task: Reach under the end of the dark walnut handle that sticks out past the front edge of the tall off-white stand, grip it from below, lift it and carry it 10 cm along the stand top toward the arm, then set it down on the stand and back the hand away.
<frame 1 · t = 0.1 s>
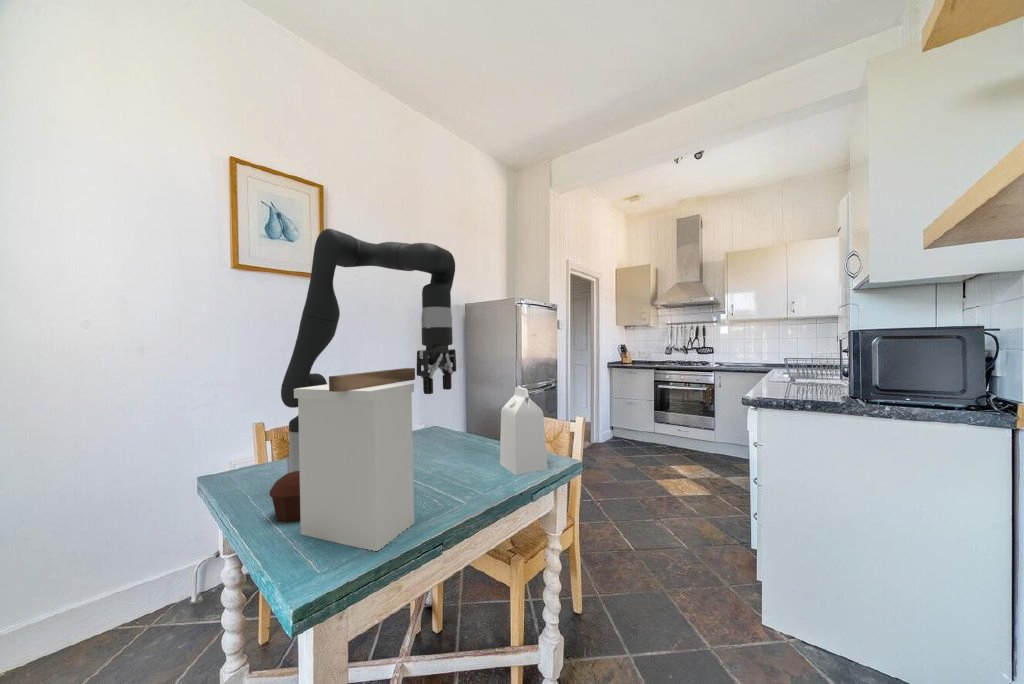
hand: (438, 391, 90), 29 cm above the table, tool pointing down, fingers open, 8 cm apart
milk: (523, 467, 120), on the table
tall stand: (358, 528, 81), on the table
muffin: (297, 514, 89), on the table
walnut handle: (377, 384, 83), point 32 cm above the table, touching tall stand
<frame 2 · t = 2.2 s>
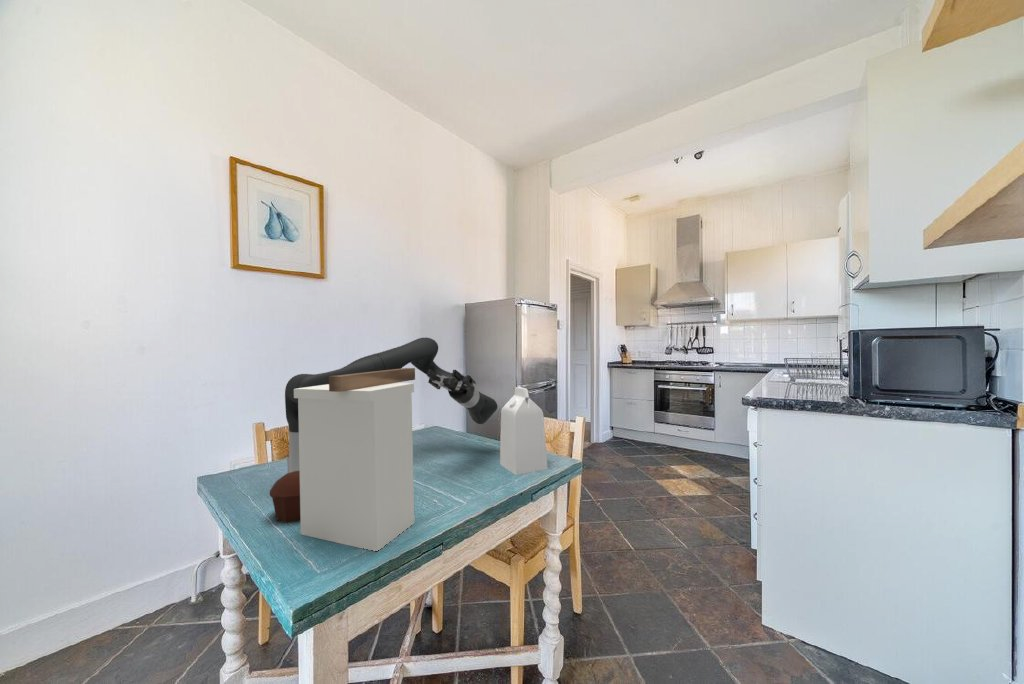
hand: (441, 372, 108), 33 cm above the table, tool pointing upward, fingers open, 8 cm apart
nothing on the table moved.
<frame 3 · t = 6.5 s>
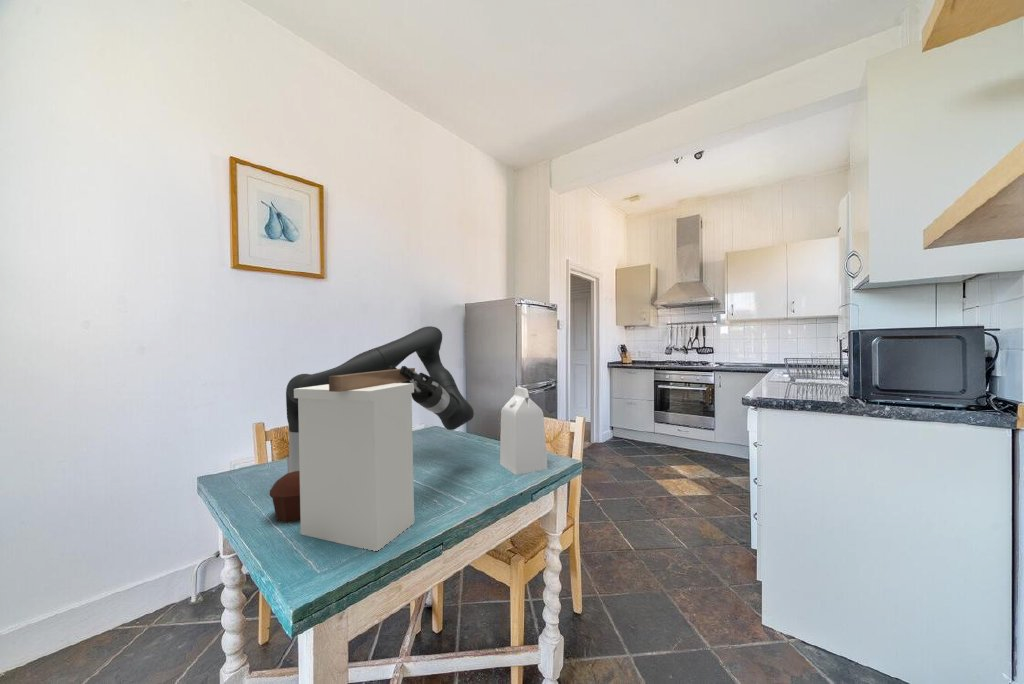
hand: (396, 369, 89), 35 cm above the table, tool pointing upward, fingers closed on walnut handle, 3 cm apart
walnut handle: (377, 384, 83), point 32 cm above the table, touching gripper, tall stand
everything else where it was.
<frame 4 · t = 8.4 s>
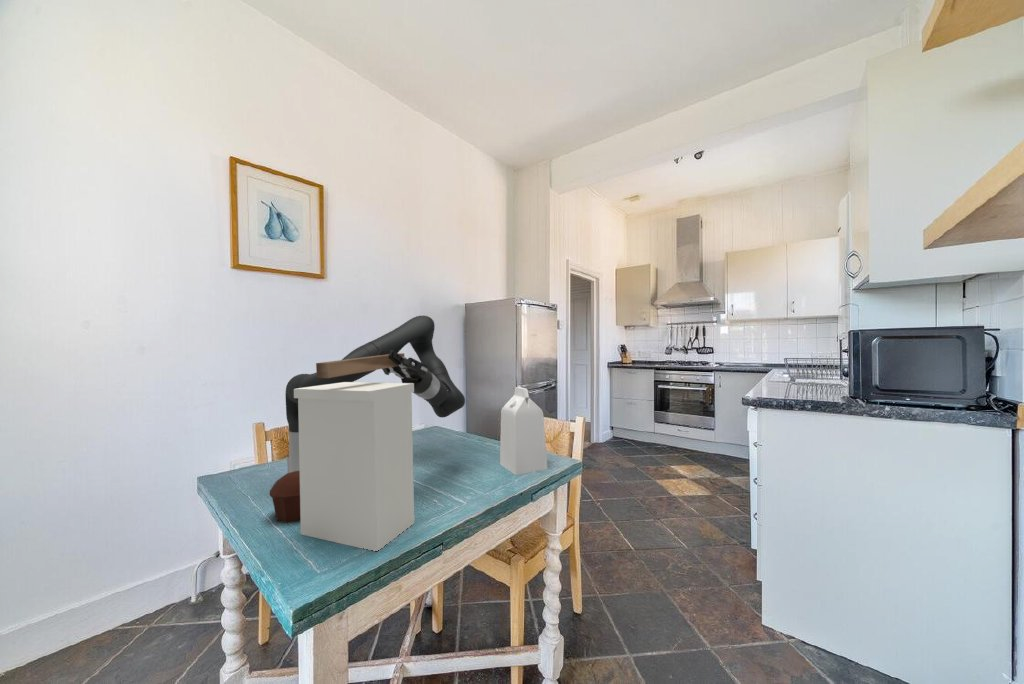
hand: (385, 353, 90), 39 cm above the table, tool pointing upward, fingers closed on walnut handle, 3 cm apart
walnut handle: (366, 370, 84), point 35 cm above the table, touching gripper
everything else where it was.
when the fingers open (36 cm above the table, at t = 10.4 s): walnut handle stays where it is, resting on tall stand.
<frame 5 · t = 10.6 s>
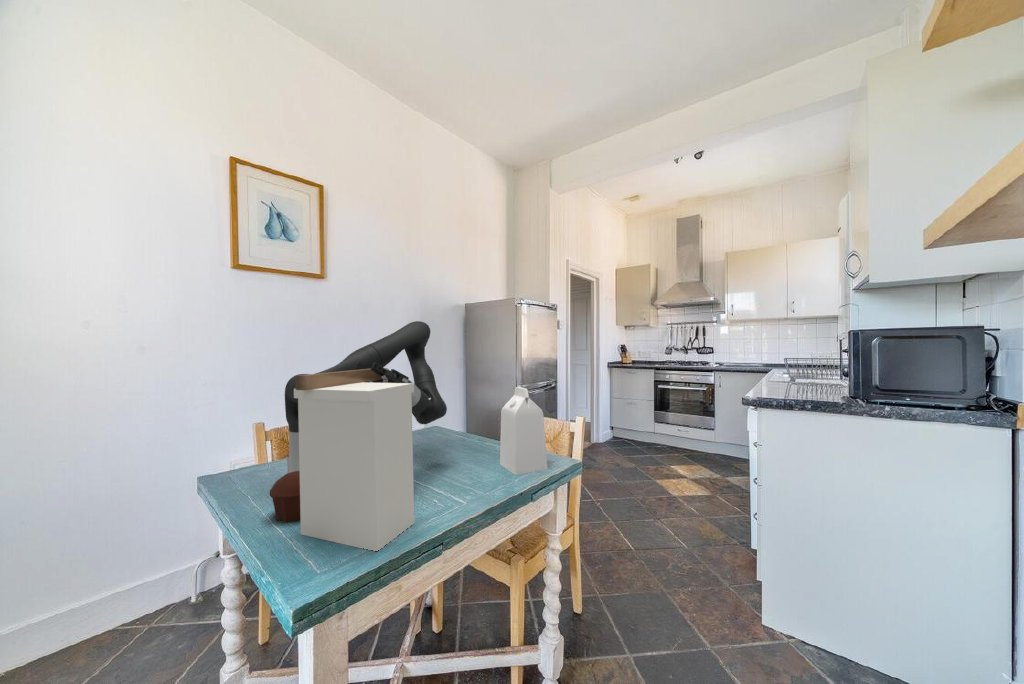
hand: (364, 365, 93), 36 cm above the table, tool pointing upward, fingers open, 5 cm apart
walnut handle: (346, 383, 87), point 32 cm above the table, touching tall stand
everything else where it was.
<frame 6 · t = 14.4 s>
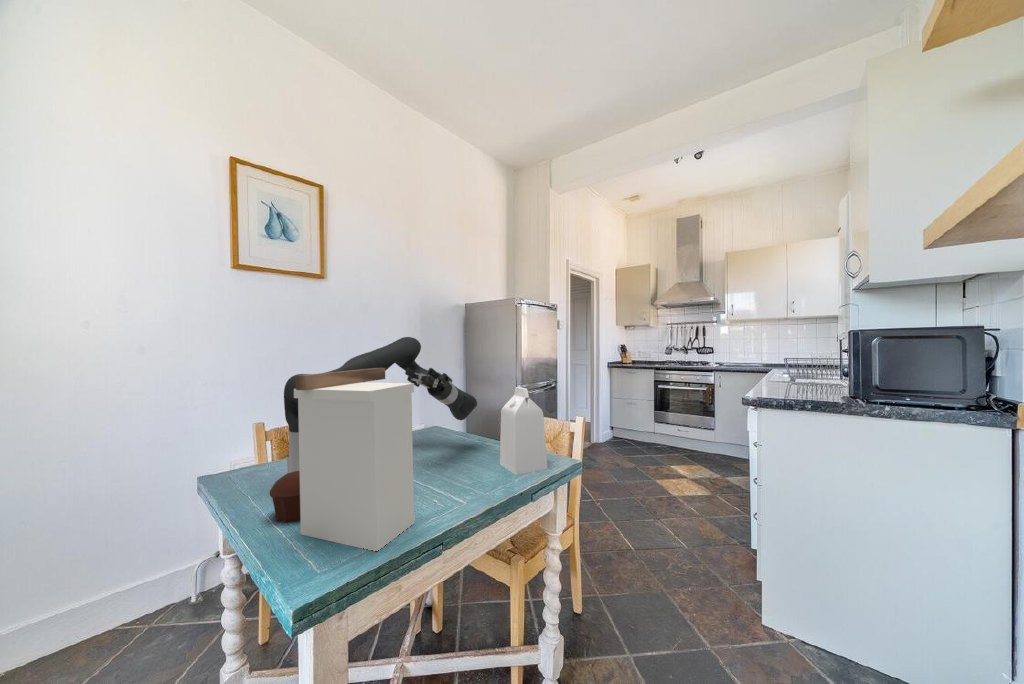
hand: (417, 370, 113), 33 cm above the table, tool pointing upward, fingers open, 8 cm apart
nothing on the table moved.
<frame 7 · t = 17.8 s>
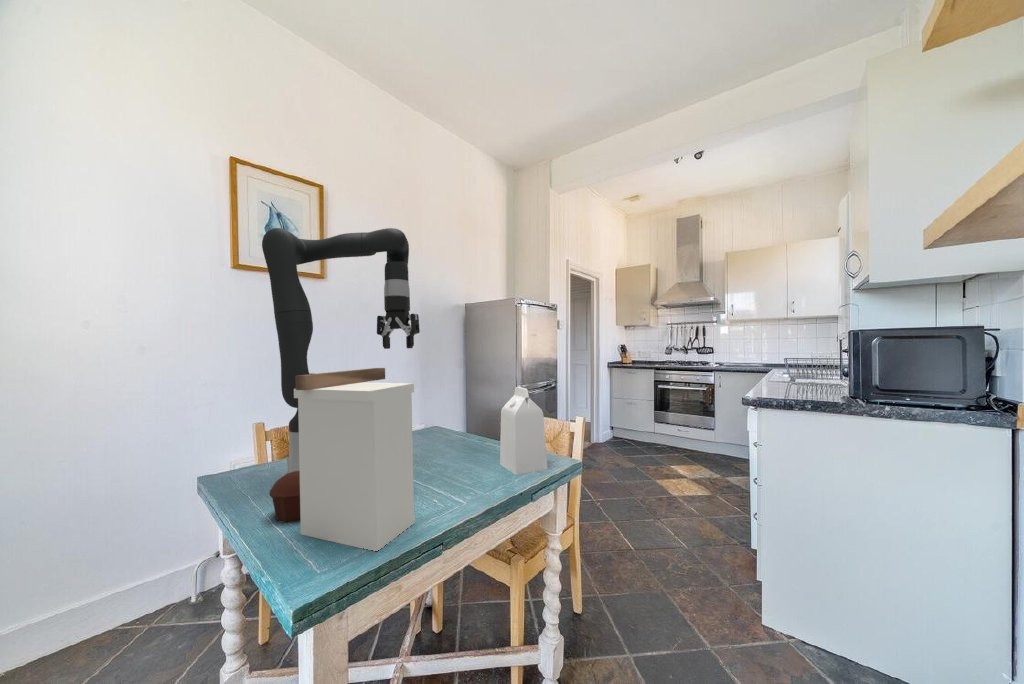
hand: (398, 348, 111), 40 cm above the table, tool pointing down, fingers open, 8 cm apart
nothing on the table moved.
at the end: walnut handle 0.5 cm from the target spot, point 32.0 cm above the table; walnut handle tilted 0°; the gripper is holding nothing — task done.
